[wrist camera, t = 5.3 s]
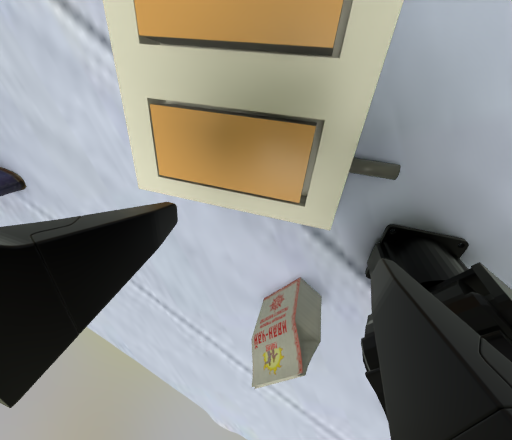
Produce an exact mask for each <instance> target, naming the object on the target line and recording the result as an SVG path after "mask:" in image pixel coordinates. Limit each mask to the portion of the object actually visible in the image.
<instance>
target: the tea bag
mask: <svg viewBox="0 0 512 440" xmlns="http://www.w3.org/2000/svg"><path fill="white" fill-rule="evenodd" d="M320 341H321V296H320V295H319V294H318V293H317V292H316V291H315V290H314V289H313V288H311V287H310V286H309V285H308V284H307V283H306V282H305V281H304V280H303V279H302V278H301V277H300V278H299V279H297V280H295V281H294V282H292V283H290V284H288V285H287V286H285V287H283V288H282V289H280V290H278V291H276V292H275V293H273V294H271V295H270V296H268V297H266V298H265V299H264V300H263V304H262V307H261V310H260V313H259V317H258V320H257V323H256V326H255V330H254V333H253V336H252V358H253V379H252V387H255V388H254V389H256V388H260V387H263V386H267V385H271V384H275V383H278V382H282V381H286V380H290V379H293V378H297V377H301V376H305V375H306V371H307V367H308V365H309V363H310V360H311V358H312V356H313V354H314V352H315V351H316V349H317V347H318V345H319V343H320Z"/></svg>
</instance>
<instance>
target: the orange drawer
mask: <svg viewBox="0 0 512 440" xmlns="http://www.w3.org/2000/svg"><path fill="white" fill-rule="evenodd" d="M134 3H135V10H136V18H137V25H138V32H139V35H140V36H143V37H146V38H149V39H151V40H154V41H157V42H160V43H163V44H173V45H187V46H201V47H215V48H230V49H244V50H258V51H272V52H286V53H300V54H314V55H328V56H332V53H333V48H334V44H335V39H336V35H337V30H338V25H339V21H340V16H341V12H342V7H343V3H344V0H134Z"/></svg>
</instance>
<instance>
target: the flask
mask: <svg viewBox="0 0 512 440" xmlns="http://www.w3.org/2000/svg"><path fill="white" fill-rule="evenodd" d="M25 187H26V185H25V183H24V181H23V179H22V178H21V177H20V176H18V175H17V174H15V173H14V172H12V171H9V170H7V169H4V168H2V167H0V196H3V195H5V194H8V193H12V192H16V191H19V190H24V188H25Z"/></svg>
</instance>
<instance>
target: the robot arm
mask: <svg viewBox="0 0 512 440" xmlns="http://www.w3.org/2000/svg"><path fill="white" fill-rule="evenodd" d="M177 220H178V218H177V206H176V205H175V204H174V203H170V202H163V203H157V204H151V205H145V206H139V207H133V208H127V209H120V210H114V211H108V212H102V213H96V214H90V215H84V216H82V217H81V216H77V217H71V218H65V219H58V220H51V221H44V222H36V223H28V224H20V225H12V226H5V227H0V403H2V404H3V405H5V406H7V407H9V408H11V407H12V406H14V405H15V404H16V403H17V402H18V401H19V400H20V399H21V398H22V396H23V395H24V394H25V393H26V392H27V391H28V390H29V389H30V388H31V387H32V385H33V384H34V383H35V382H36V381H37V380H38V379H39V378H40V377H41V376H42V375H43V373H44V372H45V371H46V370H47V369H48V368H49V367H50V366H51V365H52V364H53V363H54V362H55V361H56V359H57V358H58V357H59V356H60V355H61V354H62V353H63V352H64V351H65V350H66V349H67V347H68V346H69V345H70V344H71V343H72V342H73V341H74V340H75V339H76V338H77V336H78V335H79V334H80V333H81V332H82V331H83V330H84V329H85V328H86V327H87V325H88V324H89V323H90V322H91V321H92V320H93V319H94V318H95V317H96V316H97V315H98V313H99V312H100V311H101V310H102V309H103V308H104V307H105V306H106V305H107V304H108V303H109V302H110V300H111V299H112V298H113V297H114V296H115V295H116V294H117V293H118V292H119V291H120V290H121V288H122V287H123V286H124V285H125V284H126V283H127V282H128V281H129V280H130V279H131V278H132V276H133V275H134V274H135V273H136V272H137V271H138V270H139V269H140V268H141V267H142V266H143V264H144V263H145V262H146V261H147V260H148V259H149V258H150V257H151V256H152V255H153V254H154V253H155V251H156V250H157V249H158V248H159V247H160V245H161V244H162V243H163V242H164V240H165V239H166V237H167V236H168V235H169V233H170V232H171V231H172V229H173V228H174V227H175V225H176V224H177ZM391 229H395V230H394V231H392V232H391V231H390V230H391ZM460 243H462V244H461V245H459V244H460ZM458 245H459V246H458ZM468 246H469V244H468V242H467V241H466V240H465V239H462V238H457V237H452V236H447V235H442V234H437V233H433V232H428V231H423V230H418V229H413V228H408V227H403V226H398V225H389V226H387V228H386V229H385V231H384V234H383V236H382V238H381V240H380V242H379V243H377V244H375V247H374V249H373V251H372V253H371V255H370V257H369V259H368V262H367V265H368V267H367V269H366V272H365V274H366V277H367V278H369V279H371V304H372V314H371V315H368V320H367V325H366V329H365V337H364V338H362V339H361V346H362V355H363V362H364V364H365V368H366V370H367V372H366V373H365V375H366V377H367V379H368V381H369V382H370V384H371V386H372V387H373V389H374V391H375V392H376V394H377V396H378V399H379V401H380V403H381V405H382V407H383V409H384V412H385V414H386V417H387V420H388V423H389V429H390V436H391V440H512V290H511V289H510V288H509V287H508V286H507V285H505V284H504V283H503V282H502V281H501V280H500V279H498V278H497V277H496V276H495V275H494V274H493V273H492V272H490V271H489V270H488V269H487V268H486V267H485V266H483V265H482V264H481V263H480V262H479V263H477V264H475V265H473V266H471V269H468V268H467V267H466V266H465V265H464V264H463V262H462V261H461V260H460V259H459V258H460V257H461V256H462V254H463V253H464V252H465V250H466V249H467V248H468Z"/></svg>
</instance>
